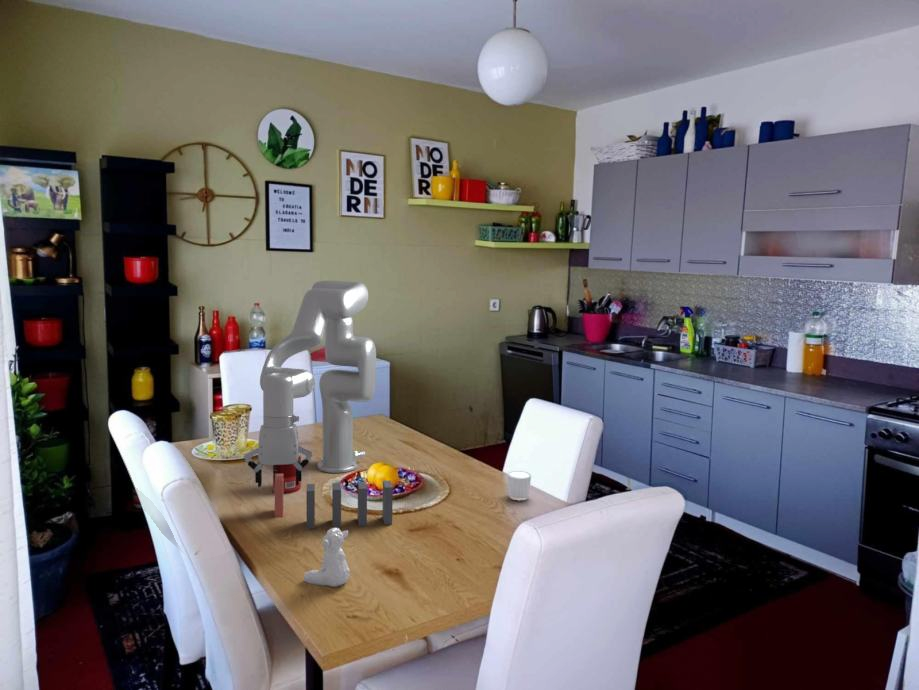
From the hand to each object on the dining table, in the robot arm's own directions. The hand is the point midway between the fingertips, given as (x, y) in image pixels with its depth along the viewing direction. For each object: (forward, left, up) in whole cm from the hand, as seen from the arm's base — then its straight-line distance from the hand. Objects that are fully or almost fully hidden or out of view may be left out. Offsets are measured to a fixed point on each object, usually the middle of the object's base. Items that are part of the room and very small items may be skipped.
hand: (278, 484), depth 176 cm
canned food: (-10, -15, -8) cm, 20 cm away
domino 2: (-8, +15, -8) cm, 19 cm away
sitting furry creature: (+8, +39, -8) cm, 41 cm away
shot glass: (-59, +31, -8) cm, 67 cm away
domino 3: (-14, +18, -8) cm, 24 cm away
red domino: (0, 0, -8) cm, 8 cm away
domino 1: (-3, +12, -8) cm, 14 cm away
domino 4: (-20, +21, -8) cm, 30 cm away
